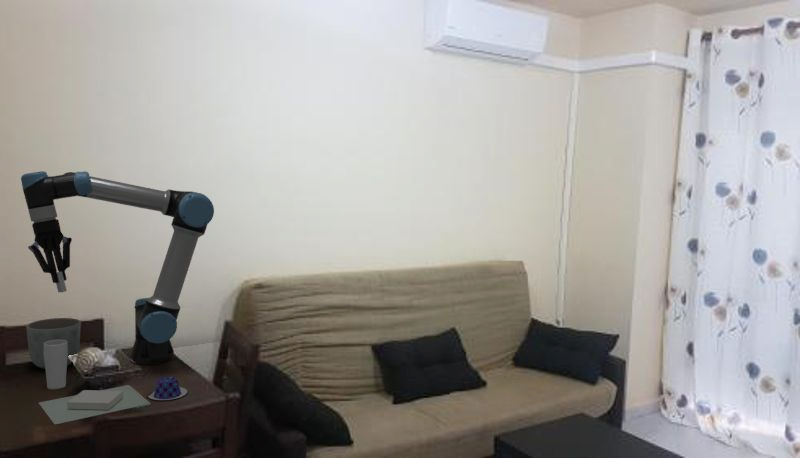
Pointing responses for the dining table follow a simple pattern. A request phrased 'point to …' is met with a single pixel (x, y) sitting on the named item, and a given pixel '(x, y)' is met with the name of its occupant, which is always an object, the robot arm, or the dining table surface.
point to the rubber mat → (61, 414)
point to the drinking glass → (56, 363)
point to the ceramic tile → (95, 400)
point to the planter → (52, 337)
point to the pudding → (167, 389)
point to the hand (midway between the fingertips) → (62, 291)
